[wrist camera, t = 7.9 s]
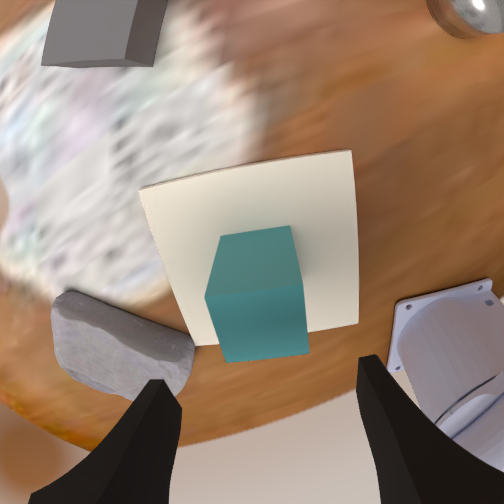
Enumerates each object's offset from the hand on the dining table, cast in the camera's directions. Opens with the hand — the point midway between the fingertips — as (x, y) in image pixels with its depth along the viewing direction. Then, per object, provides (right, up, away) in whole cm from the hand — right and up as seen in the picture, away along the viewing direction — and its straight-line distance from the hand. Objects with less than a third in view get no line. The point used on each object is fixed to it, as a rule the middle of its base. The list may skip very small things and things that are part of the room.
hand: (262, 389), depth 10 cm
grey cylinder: (+12, +20, 0) cm, 23 cm away
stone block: (-11, -3, +13) cm, 18 cm away
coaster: (0, +4, +9) cm, 10 cm away
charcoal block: (-8, +18, +2) cm, 19 cm away
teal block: (0, +4, +8) cm, 9 cm away
